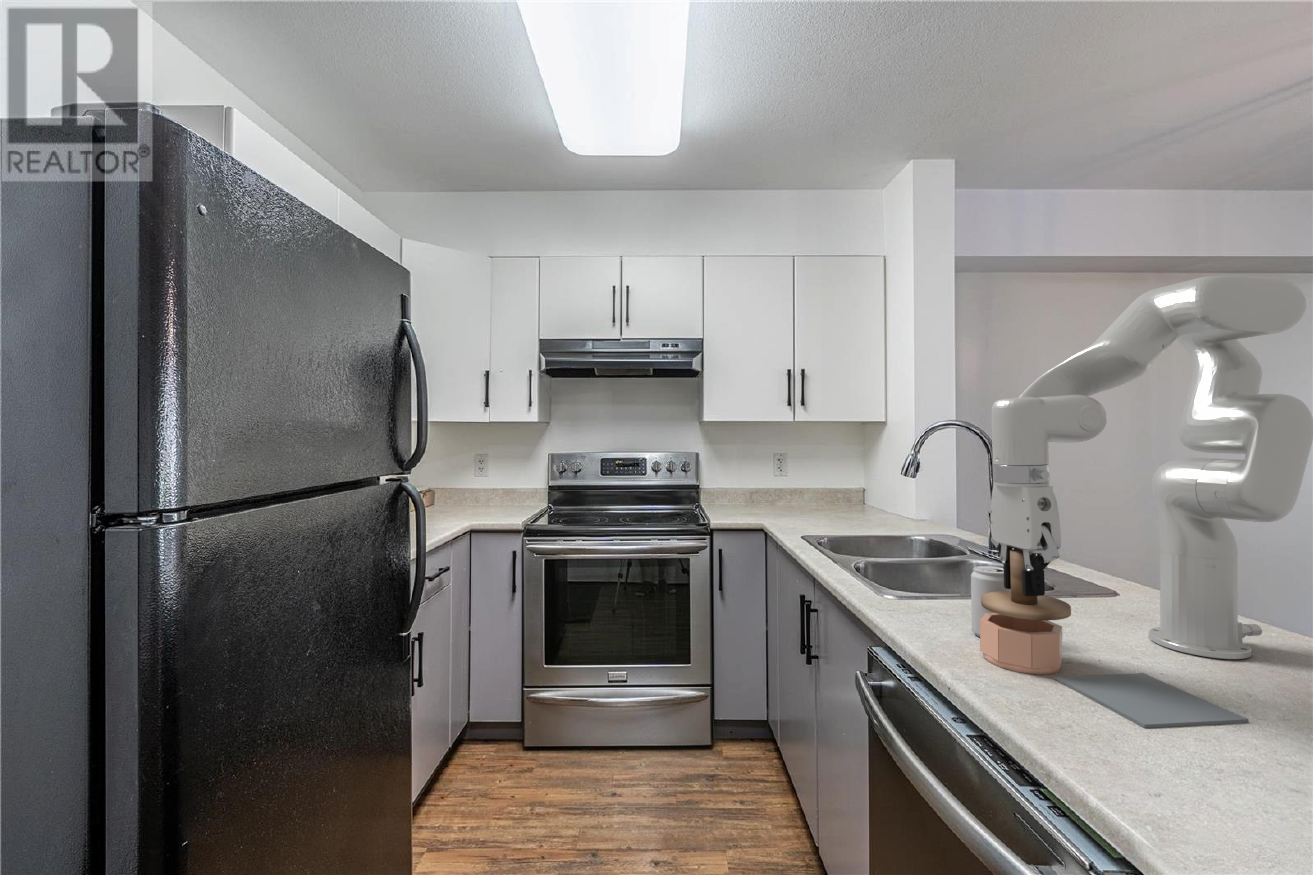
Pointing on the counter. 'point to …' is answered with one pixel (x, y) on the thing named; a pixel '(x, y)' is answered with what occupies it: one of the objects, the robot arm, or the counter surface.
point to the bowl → (1021, 644)
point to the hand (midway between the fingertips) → (1023, 590)
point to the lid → (1024, 597)
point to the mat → (1149, 700)
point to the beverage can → (984, 591)
